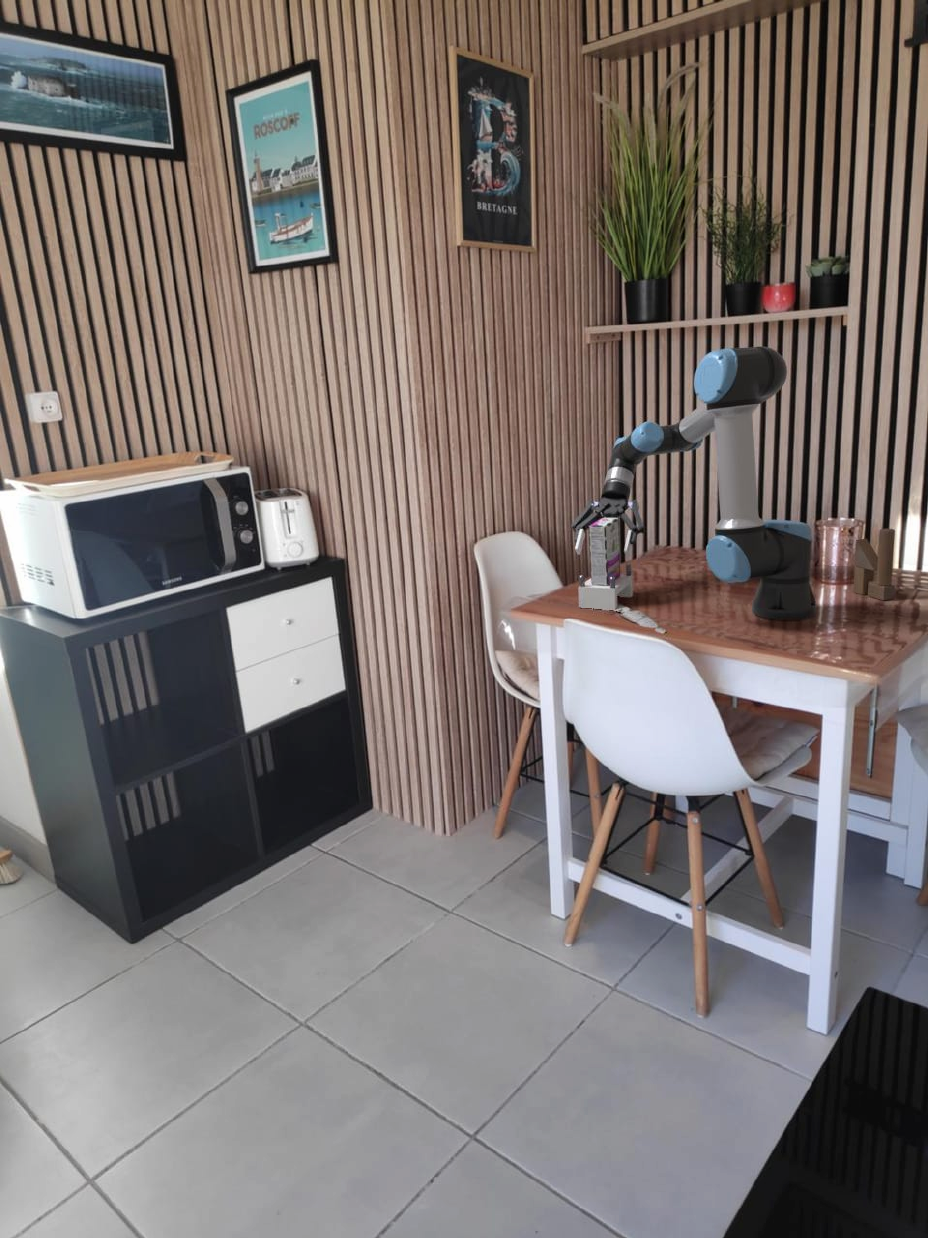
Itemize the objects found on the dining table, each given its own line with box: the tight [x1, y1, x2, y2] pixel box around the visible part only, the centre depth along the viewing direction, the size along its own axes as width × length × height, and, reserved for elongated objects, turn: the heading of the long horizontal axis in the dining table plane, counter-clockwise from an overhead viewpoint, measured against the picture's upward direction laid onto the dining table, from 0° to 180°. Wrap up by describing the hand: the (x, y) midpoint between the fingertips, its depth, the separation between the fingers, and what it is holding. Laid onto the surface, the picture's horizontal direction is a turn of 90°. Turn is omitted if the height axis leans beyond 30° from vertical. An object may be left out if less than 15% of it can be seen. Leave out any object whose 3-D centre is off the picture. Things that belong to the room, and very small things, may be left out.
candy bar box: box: [588, 517, 621, 586], centre depth 243 cm, size 11×5×16 cm, turn 153°
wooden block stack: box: [852, 528, 896, 601], centre depth 233 cm, size 4×11×18 cm, turn 20°
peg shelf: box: [578, 563, 634, 611], centre depth 246 cm, size 10×16×9 cm, turn 153°
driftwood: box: [612, 603, 667, 635], centre depth 234 cm, size 37×5×2 cm, turn 17°
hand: (601, 552), depth 242 cm, fingers open, 13 cm apart
